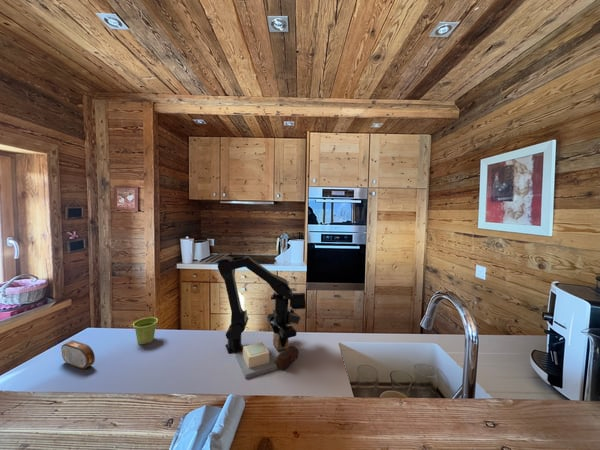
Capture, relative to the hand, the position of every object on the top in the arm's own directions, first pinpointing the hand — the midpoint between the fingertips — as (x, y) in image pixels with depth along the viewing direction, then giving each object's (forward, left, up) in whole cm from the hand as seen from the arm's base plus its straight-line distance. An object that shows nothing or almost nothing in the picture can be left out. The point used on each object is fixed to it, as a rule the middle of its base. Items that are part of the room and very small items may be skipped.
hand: (280, 343), depth 108 cm
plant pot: (-30, -52, -2) cm, 60 cm away
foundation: (+6, -13, -2) cm, 14 cm away
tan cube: (0, 0, -1) cm, 1 cm away
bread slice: (-21, -73, -2) cm, 76 cm away
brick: (+11, -2, -2) cm, 11 cm away
